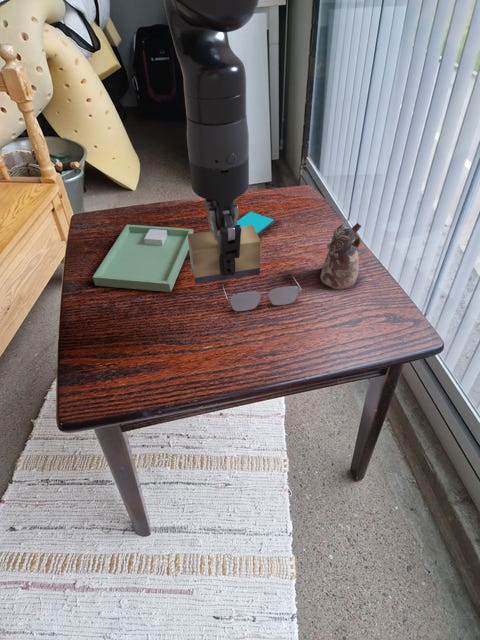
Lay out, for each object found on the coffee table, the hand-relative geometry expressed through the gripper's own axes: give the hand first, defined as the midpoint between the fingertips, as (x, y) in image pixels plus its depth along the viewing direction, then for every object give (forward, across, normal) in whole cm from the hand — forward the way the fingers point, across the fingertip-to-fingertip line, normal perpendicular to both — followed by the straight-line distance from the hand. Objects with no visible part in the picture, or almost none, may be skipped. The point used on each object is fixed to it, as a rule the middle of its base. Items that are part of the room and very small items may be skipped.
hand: (224, 263), depth 64 cm
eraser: (+1, 0, 0) cm, 1 cm away
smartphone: (+14, -30, +10) cm, 34 cm away
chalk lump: (+14, -31, -10) cm, 35 cm away
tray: (+14, -25, -12) cm, 31 cm away
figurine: (+15, -9, +24) cm, 30 cm away
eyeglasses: (+15, -8, +8) cm, 18 cm away
